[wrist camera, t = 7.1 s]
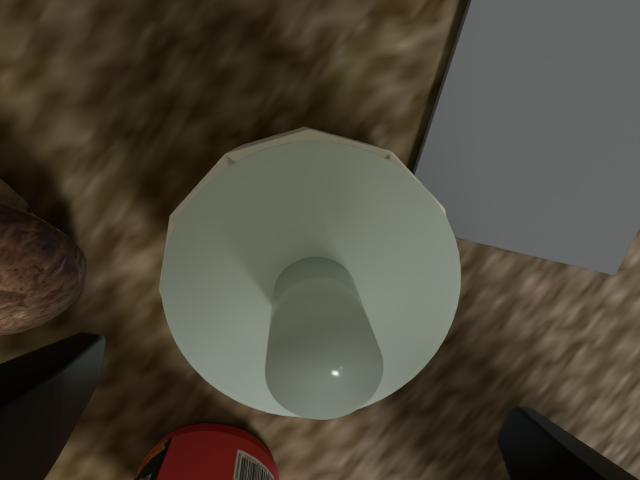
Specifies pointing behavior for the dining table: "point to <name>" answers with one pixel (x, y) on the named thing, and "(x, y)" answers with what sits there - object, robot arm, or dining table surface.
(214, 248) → the lid
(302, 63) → the dining table surface
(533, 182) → the mat
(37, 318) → the mushroom
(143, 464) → the canned food
